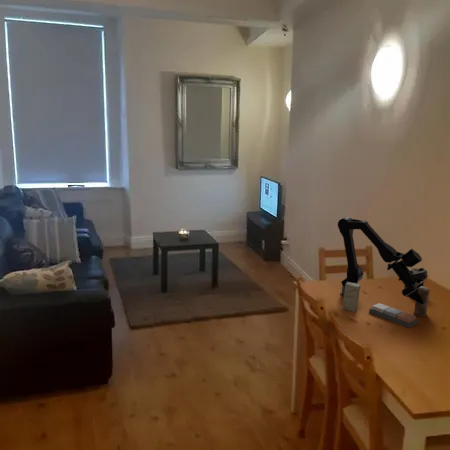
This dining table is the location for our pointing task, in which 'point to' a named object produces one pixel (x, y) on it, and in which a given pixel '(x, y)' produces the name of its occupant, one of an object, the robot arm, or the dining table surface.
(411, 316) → the terracotta key
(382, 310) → the key pad
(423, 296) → the walnut stylus post
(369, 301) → the dining table surface
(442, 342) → the dining table surface
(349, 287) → the skincare box
